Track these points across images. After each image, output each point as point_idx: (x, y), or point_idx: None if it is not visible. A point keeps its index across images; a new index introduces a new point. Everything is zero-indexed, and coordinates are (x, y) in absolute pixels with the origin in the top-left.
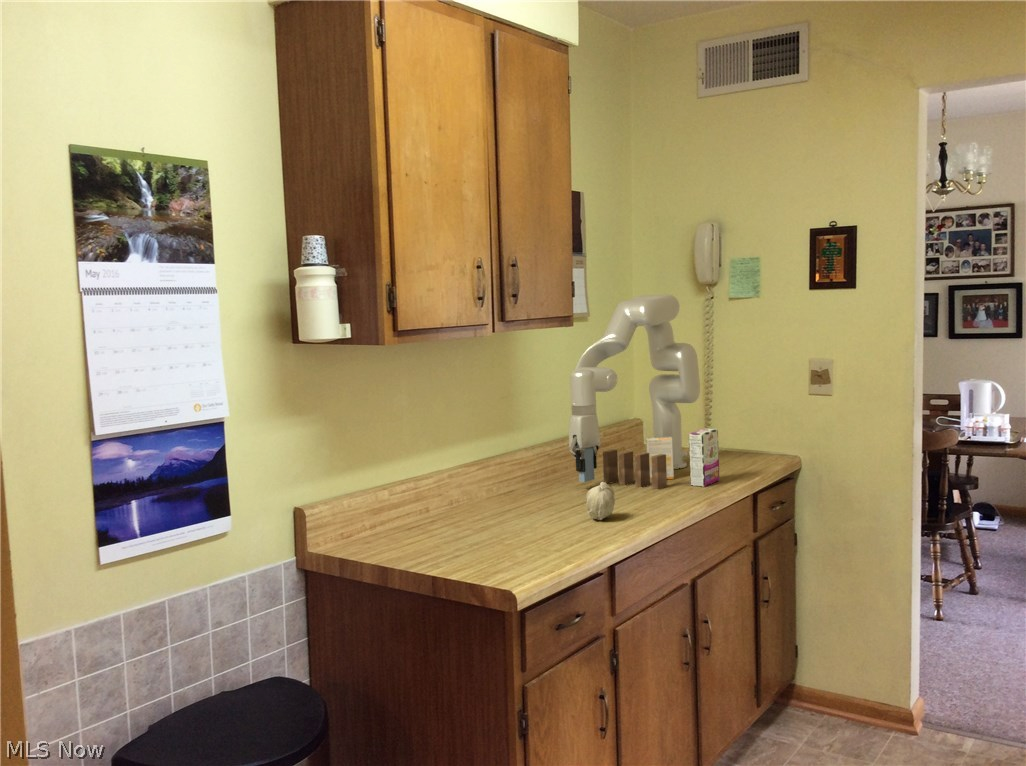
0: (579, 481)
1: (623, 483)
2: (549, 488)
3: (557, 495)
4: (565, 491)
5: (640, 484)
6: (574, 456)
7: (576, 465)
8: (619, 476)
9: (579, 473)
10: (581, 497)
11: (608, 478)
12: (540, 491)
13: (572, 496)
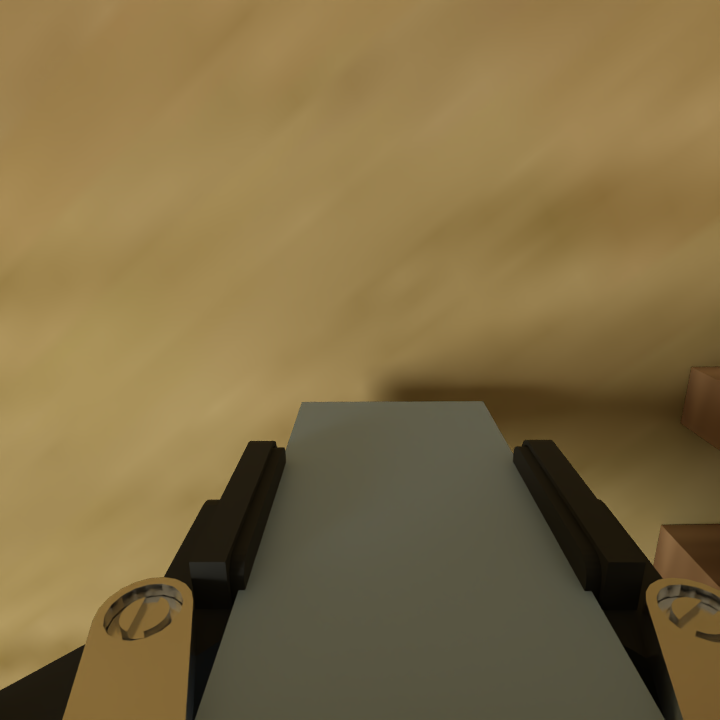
0: (301, 404)
1: (665, 572)
2: (185, 42)
3: (7, 352)
4: (181, 301)
5: None
6: (51, 664)
7: (229, 491)
8: (709, 581)
9: (289, 450)
10: (95, 554)
11: (713, 443)
12: (7, 67)
13: (72, 480)
